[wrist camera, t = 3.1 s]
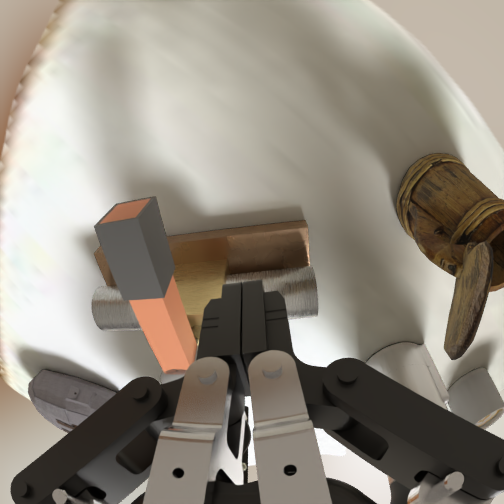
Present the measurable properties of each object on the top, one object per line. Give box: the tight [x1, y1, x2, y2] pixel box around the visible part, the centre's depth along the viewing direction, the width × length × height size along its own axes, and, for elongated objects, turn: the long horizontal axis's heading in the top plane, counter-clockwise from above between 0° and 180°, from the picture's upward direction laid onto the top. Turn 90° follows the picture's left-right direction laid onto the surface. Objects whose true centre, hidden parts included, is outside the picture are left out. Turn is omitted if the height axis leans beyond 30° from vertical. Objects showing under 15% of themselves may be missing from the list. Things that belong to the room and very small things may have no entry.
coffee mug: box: [447, 368, 504, 430], centre depth 40 cm, size 13×10×10 cm
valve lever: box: [94, 196, 198, 384], centre depth 17 cm, size 14×3×3 cm, turn 7°
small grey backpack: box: [28, 370, 116, 433], centre depth 39 cm, size 15×8×20 cm
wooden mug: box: [396, 153, 504, 360], centre depth 17 cm, size 9×14×18 cm, turn 91°
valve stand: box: [92, 220, 318, 345], centre depth 25 cm, size 20×10×10 cm, turn 97°
